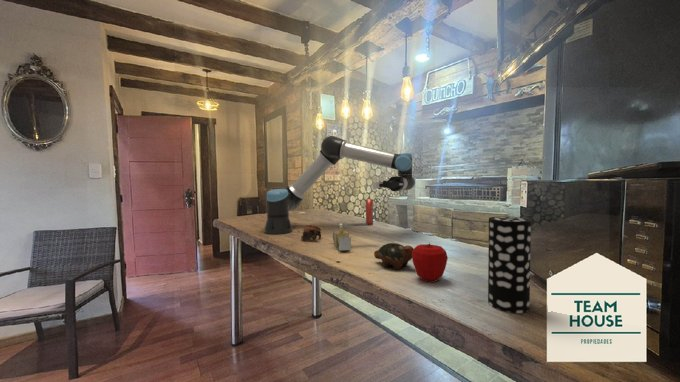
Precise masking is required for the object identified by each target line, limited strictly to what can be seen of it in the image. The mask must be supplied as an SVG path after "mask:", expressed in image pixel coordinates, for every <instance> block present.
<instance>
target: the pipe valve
mask: <svg viewBox="0 0 680 382" xmlns="http://www.w3.org/2000/svg"><path fill="white" fill-rule="evenodd" d="M332 241H333V246H334V248H335V249H336V250H337V251H338V252H350V251H352V237H350V233H349V232H348V231H347V230H344V227H338V229H332Z"/></svg>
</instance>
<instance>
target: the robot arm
mask: <svg viewBox="0 0 680 382" xmlns="http://www.w3.org/2000/svg"><path fill="white" fill-rule="evenodd" d="M320 148H321V149H320V150H319V155H318V156H317V158H315V159H314V161H312V163H311V164H310V165H309V166H308V167H307V168H306V170H305V171H304V172H303V173H301V175H300V176H299V177H298V179H296V180H295V182H294V183H292V184H291V183H290V184H288V186H287V187H285V188H275V189H270V190H269V191H267V192H266V214H267V216H266V217H267V218H266V223H265V225H264V234H268V235H282V234H288V233H289V234H290V233H291V232H292V233H293V225H292V223H291V220H290V217H289V216H290V215H289V214H290V212H289V211H291V210H295V209H297V208H298V207H299V206H300V205H301V203H302V201H303V199H304V198H305V193H307V192H308V191H309V189H310V188H311V187H312V186H313V185H314V184H315V183H316V182H317V181H318V180H319V178H320V177H321V176H322V175H323V174H324V173H325V172H326V171H327V170H328V169H329V168H330V167H331V166H335V165H336V164H337V163H338V162H339V161H340V160H342V159H344V158H347V159H352V160H355V161H360V162H363V163H368V164H371V165H372V164H373V165H375V166H376V165H377V166H381V167H384V168H389V169H392V170H397V175H395V176H394V175H393V176H391V177H390V178H388V180H382V181H376V182H374V181H373V182H372V189H373V190H374V189H375V190H376V189H378V190H381V189H389V190H390V191H392V192H398V193H401V192H402V191H409V190H411V189H413V188H414V187H415V185H416V180H415V177H414V176H413V154H412V153H409V152H404V153H395V152H391V151H386V150H381V149H378V148H377V149H376V148H374V147H368V146H364V145H359V144H355V143H351V142H348V141H347V140H346V139H343V138H342V137H341V138H340V137H337V136H336V135H329V136H327V137H324V139H323V140H322V141H321V144H320Z"/></svg>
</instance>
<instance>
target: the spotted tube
mask: <svg viewBox="0 0 680 382" xmlns="http://www.w3.org/2000/svg"><path fill="white" fill-rule="evenodd" d="M531 235H532V219H529V218H527V217H519V216H517V217H516V216H491V217H488V259H487V260H488V262H487V263H488V265H487V266H488V267H487V269H488V271H487V272H488V273H487V274H488V275H487V281H488V283H487V289H488V290H487V303H488V305H489V306H491V307H492V308H494V309H496V310H499V311H502V312H505V313H512V314H524V313H527V312H529V311H530V305H531V304H530V303H531V299H530V298H531V296H530V295H531V251H532V250H531V249H532V248H531V247H532V246H531V245H532V244H531V243H532V242H531V241H532V240H531V239H532V238H531V237H532V236H531Z"/></svg>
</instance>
